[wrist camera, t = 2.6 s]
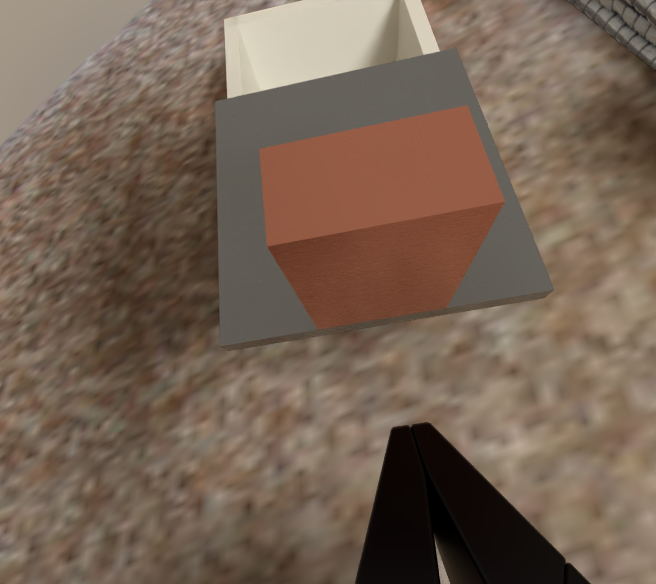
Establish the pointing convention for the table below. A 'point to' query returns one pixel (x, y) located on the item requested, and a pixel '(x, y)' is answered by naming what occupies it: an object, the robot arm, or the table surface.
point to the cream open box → (321, 41)
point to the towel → (626, 23)
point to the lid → (364, 205)
